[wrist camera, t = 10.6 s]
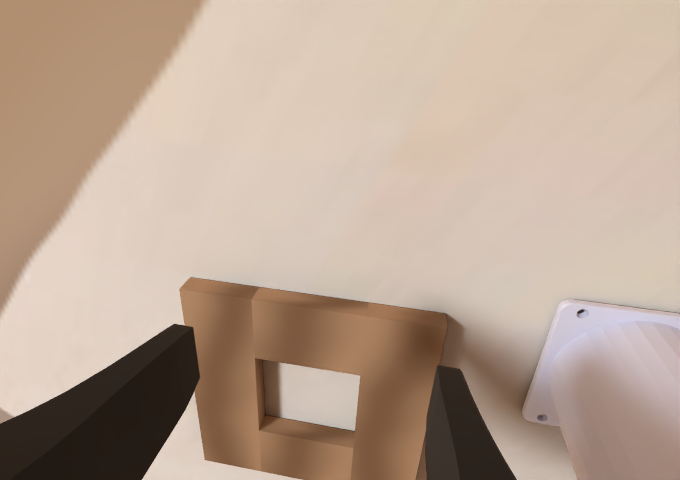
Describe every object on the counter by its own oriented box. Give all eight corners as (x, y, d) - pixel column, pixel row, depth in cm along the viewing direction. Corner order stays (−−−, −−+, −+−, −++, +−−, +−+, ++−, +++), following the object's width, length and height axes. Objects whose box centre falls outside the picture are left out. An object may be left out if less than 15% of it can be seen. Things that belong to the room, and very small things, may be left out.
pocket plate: (446, 313, 22) (447, 328, 21) (411, 483, 28) (411, 501, 27) (190, 277, 24) (179, 289, 23) (212, 444, 30) (204, 460, 29)
